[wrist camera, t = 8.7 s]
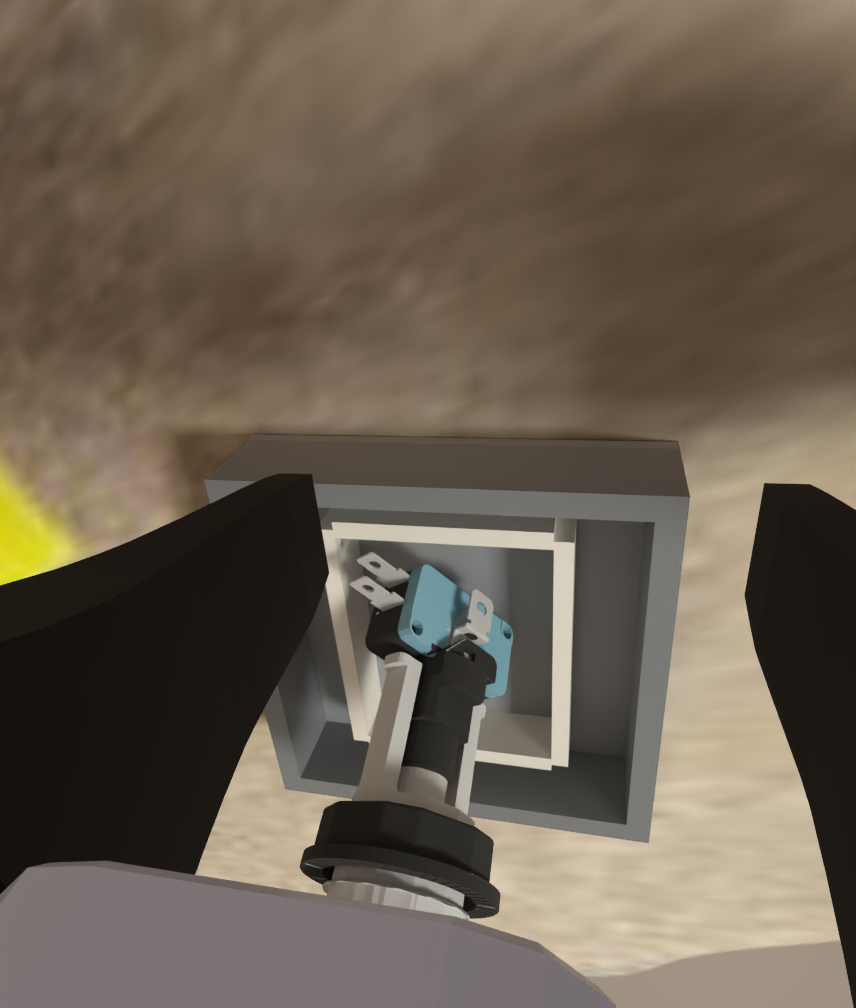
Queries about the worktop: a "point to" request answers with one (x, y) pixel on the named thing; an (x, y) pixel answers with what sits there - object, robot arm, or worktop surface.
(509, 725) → the cream rectangular frame
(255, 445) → the grey square tray
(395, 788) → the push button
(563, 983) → the robot arm
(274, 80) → the worktop surface
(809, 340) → the worktop surface
